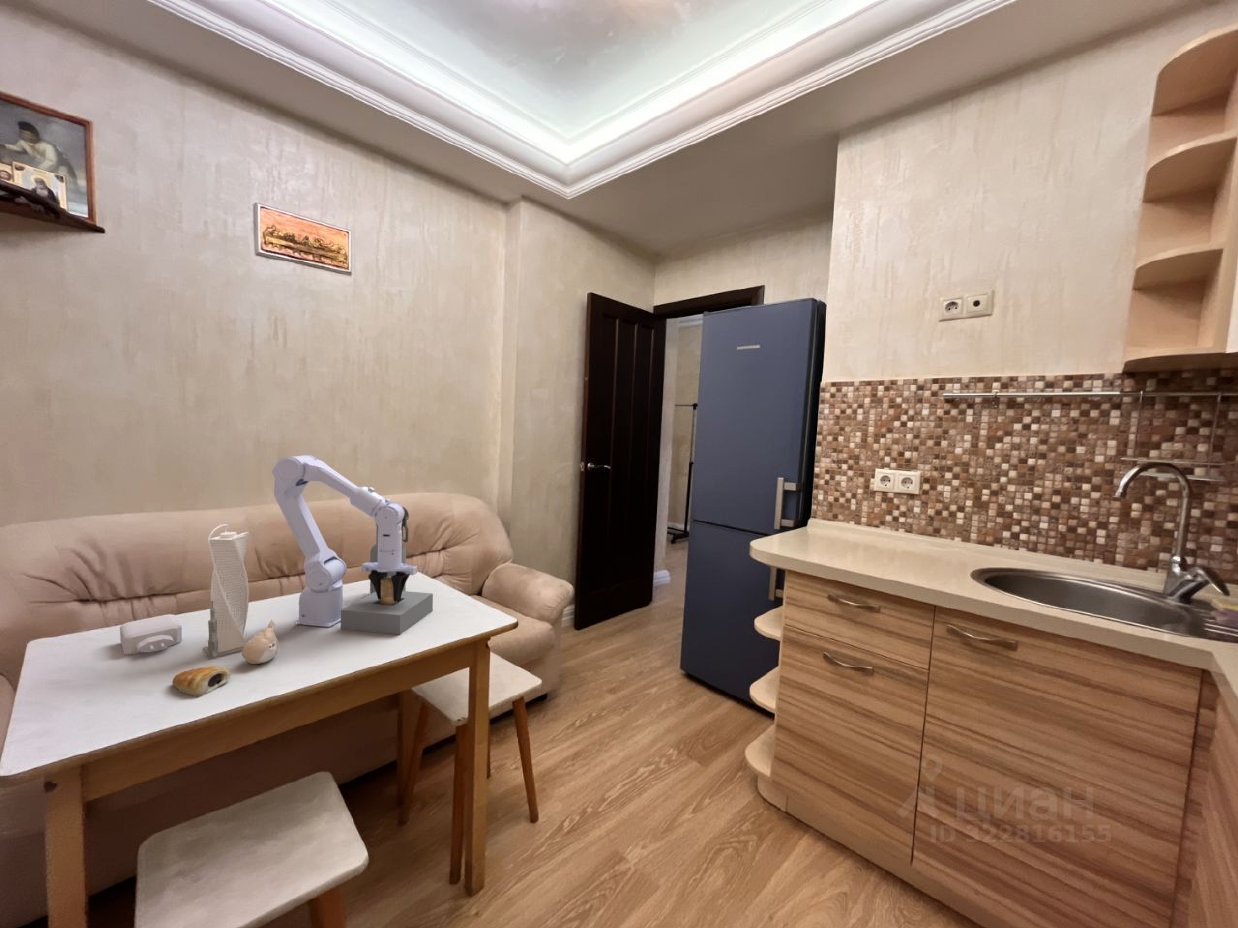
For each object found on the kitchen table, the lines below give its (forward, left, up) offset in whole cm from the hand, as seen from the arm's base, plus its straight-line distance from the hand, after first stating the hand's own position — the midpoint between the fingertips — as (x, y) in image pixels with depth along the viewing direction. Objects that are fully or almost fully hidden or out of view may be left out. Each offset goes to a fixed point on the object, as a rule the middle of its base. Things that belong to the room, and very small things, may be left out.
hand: (389, 598), depth 126 cm
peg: (0, 0, -3) cm, 4 cm away
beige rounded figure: (-13, -26, -6) cm, 30 cm away
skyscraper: (-25, -22, -6) cm, 34 cm away
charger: (-41, -25, -6) cm, 48 cm away
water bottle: (-11, +17, -6) cm, 21 cm away
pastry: (-16, -37, -6) cm, 40 cm away
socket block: (0, 0, -6) cm, 6 cm away
